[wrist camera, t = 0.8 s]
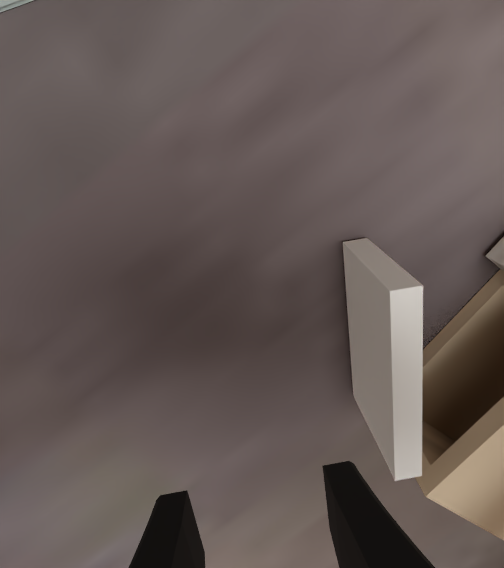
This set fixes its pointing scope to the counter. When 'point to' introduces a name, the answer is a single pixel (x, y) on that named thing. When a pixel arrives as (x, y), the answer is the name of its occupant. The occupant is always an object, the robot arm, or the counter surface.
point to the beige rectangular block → (467, 409)
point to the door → (386, 352)
